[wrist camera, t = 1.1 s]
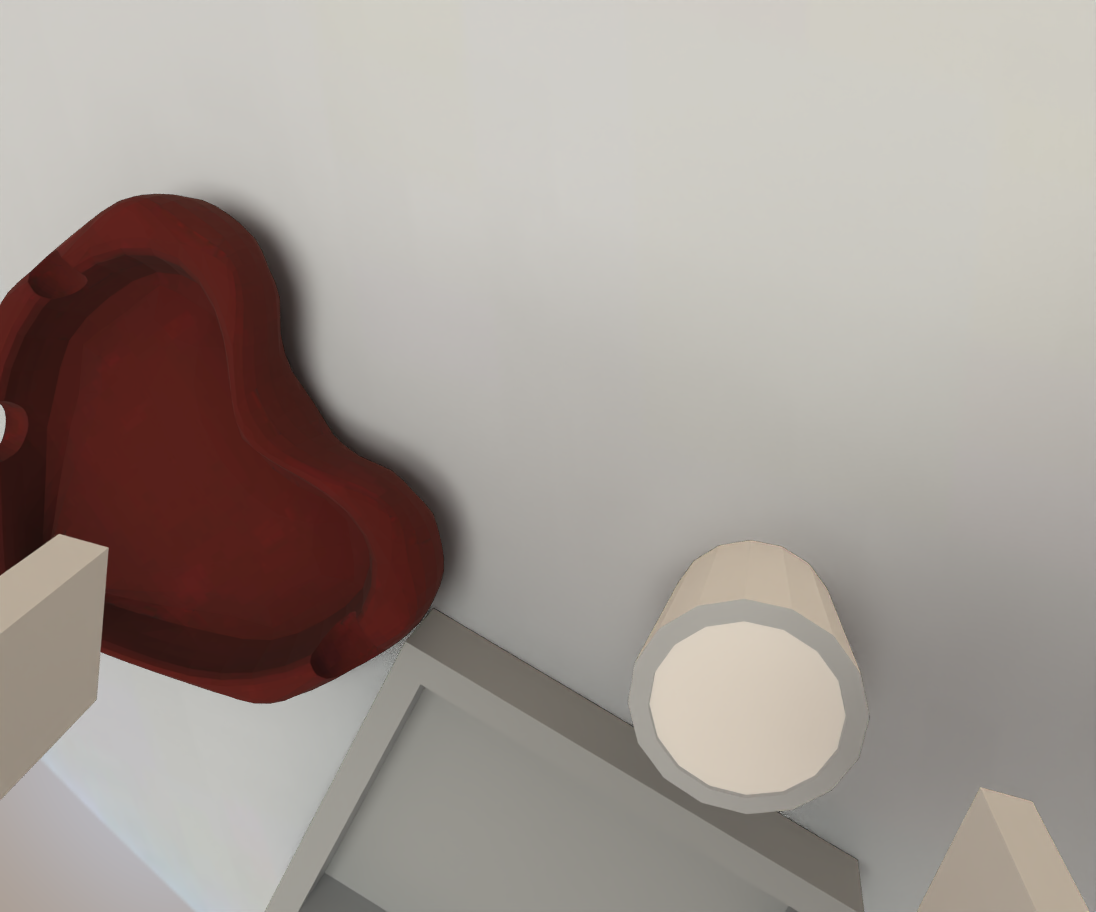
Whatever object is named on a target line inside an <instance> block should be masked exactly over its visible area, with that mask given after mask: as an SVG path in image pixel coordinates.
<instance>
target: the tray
mask: <svg viewBox="0 0 1096 912" xmlns="http://www.w3.org/2000/svg"><path fill="white" fill-rule="evenodd" d="M265 912H864V905H863V898H862V890H861V882H860V874H859V866H858V860H857V859H855V858H853V857H852V856H850V855H848V854H846V853H845V852H843V851H841V850H840V849H838V848H836V847H835V846H833V845H831V844H830V843H828V842H826V841H825V840H823V839H821V838H820V837H818V836H816V835H814V834H813V833H811V832H809V831H808V830H806V829H804V828H803V827H801V826H799V825H798V824H796V823H794V822H793V821H791V820H789V819H788V818H786V817H784V816H782V815H781V814H779V813H777V812H776V811H775V812H764V813H753V814H744V813H740V812H736V811H732V810H728V809H724V808H720V807H716V806H712V805H709V804H705V803H701V802H700V801H698V800H697V799H695V798H694V797H692V796H691V795H689V794H688V793H686V792H685V791H683V790H681V789H680V788H678V787H677V786H675V785H674V784H672V783H671V782H669V781H668V780H666V779H665V778H664V777H663V776H662V775H661V773H660V772H659V771H658V769H657V768H656V767H655V765H654V764H653V763H652V761H651V760H650V759H649V757H648V756H647V754H646V753H645V752H644V750H643V749H642V748H641V746H640V745H639V744H638V741H637V737H636V733H635V729H634V727H633V726H631V725H629V724H628V723H626V722H624V721H622V720H621V719H619V718H617V717H616V716H614V715H612V714H611V713H609V712H607V711H606V710H604V709H602V708H601V707H599V706H597V705H596V704H594V703H592V702H590V701H589V700H587V699H585V698H584V697H582V696H580V695H579V694H577V693H575V692H574V691H572V690H570V689H569V688H567V687H565V686H564V685H562V684H560V683H558V682H557V681H555V680H553V679H552V678H550V677H548V676H547V675H545V674H543V673H542V672H540V671H538V670H537V669H535V668H533V667H532V666H530V665H528V664H526V663H525V662H523V661H521V660H520V659H518V658H516V657H515V656H513V655H511V654H510V653H508V652H506V651H505V650H503V649H501V648H500V647H498V646H496V645H494V644H493V643H491V642H489V641H488V640H486V639H484V638H483V637H481V636H479V635H478V634H476V633H474V632H473V631H471V630H469V629H468V628H466V627H464V626H462V625H461V624H459V623H457V622H456V621H454V620H452V619H451V618H449V617H447V616H446V615H444V614H442V613H441V612H439V611H437V610H435V609H434V608H433V610H432V611H431V612H430V613H429V614H428V616H427V617H426V618H425V619H424V620H423V621H422V623H421V624H420V625H419V626H418V627H417V628H416V630H415V631H414V632H413V633H412V634H411V635H410V637H409V638H408V639H407V640H406V641H405V643H404V645H403V647H402V649H401V651H400V653H399V655H398V657H397V659H396V660H395V662H394V664H393V666H392V668H391V670H390V672H389V674H388V676H387V678H386V680H385V682H384V683H383V685H382V687H381V689H380V691H379V693H378V695H377V697H376V699H375V701H374V703H373V705H372V706H371V708H370V710H369V712H368V714H367V716H366V718H365V720H364V722H363V724H362V726H361V728H360V729H359V731H358V733H357V735H356V737H355V739H354V741H353V743H352V745H351V747H350V749H349V751H348V753H347V754H346V756H345V758H344V760H343V762H342V764H341V766H340V768H339V770H338V772H337V774H336V776H335V777H334V779H333V781H332V783H331V785H330V787H329V789H328V791H327V793H326V795H325V797H324V799H323V800H322V802H321V804H320V806H319V808H318V810H317V812H316V814H315V816H314V818H313V820H312V822H311V823H310V825H309V827H308V829H307V831H306V833H305V835H304V837H303V839H302V841H301V843H300V845H299V847H298V848H297V850H296V852H295V854H294V856H293V858H292V860H291V862H290V864H289V866H288V868H287V870H286V871H285V873H284V875H283V877H282V879H281V881H280V883H279V885H278V887H277V889H276V891H275V893H274V894H273V896H272V898H271V900H270V902H269V904H268V906H267V908H266V910H265Z"/></svg>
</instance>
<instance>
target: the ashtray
mask: <svg viewBox="0 0 1096 912" xmlns="http://www.w3.org/2000/svg"><path fill="white" fill-rule="evenodd" d="M0 404H1V405H2V406H3V408H4V410H5V415H6V427H5V432H4V436H3V439H2V441H1V443H0V576H1V575H2V574H3V573H5V572H6V571H8V570H9V569H10V568H12V567H13V566H15V565H16V564H17V563H19V562H20V561H22V560H23V559H24V558H26V557H27V556H29V555H30V554H31V553H33V552H34V551H36V550H37V549H39V548H40V547H41V546H43V545H44V544H46V543H47V542H48V541H50V540H51V539H53V538H54V537H55V536H57V535H58V534H61V535H65V536H68V537H72V538H76V539H79V540H83V541H87V542H90V543H94V544H97V545H101V546H105V547H108V548H109V549H108V562H107V575H106V587H105V600H104V613H103V625H102V638H101V651H100V652H102V653H104V654H107V655H109V656H112V657H115V658H117V659H120V660H123V661H125V662H128V663H131V664H134V665H137V666H139V667H142V668H145V669H148V670H151V671H153V672H156V673H159V674H162V675H165V676H168V677H171V678H174V679H177V680H180V681H183V682H186V683H189V684H192V685H195V686H198V687H201V688H204V689H207V690H210V691H213V692H216V693H219V694H223V695H226V696H229V697H232V698H235V699H238V700H242V701H246V702H251V703H266V704H271V703H276V702H280V701H285V700H287V699H290V698H292V697H294V696H297V695H300V694H302V693H305V692H308V691H311V690H313V689H315V688H317V687H319V686H322V685H324V684H326V683H328V682H330V681H332V680H334V679H336V678H338V677H339V676H341V675H343V674H345V673H347V672H348V671H350V670H352V669H354V668H356V667H358V666H360V665H361V664H363V663H365V662H367V661H369V660H370V659H372V658H374V657H375V656H377V655H379V654H380V653H382V652H384V651H385V650H387V649H389V648H390V647H392V646H393V645H394V644H396V643H397V642H399V641H400V640H401V639H403V638H404V637H405V636H406V635H407V634H408V633H409V632H410V631H411V630H412V629H413V628H414V627H415V626H416V625H418V624H419V623H420V621H421V620H422V618H423V617H424V615H425V614H426V612H427V611H428V609H429V608H430V606H431V604H432V602H433V600H434V598H435V595H436V593H437V591H438V589H439V586H440V584H441V580H442V576H443V571H444V556H443V549H442V543H441V539H440V535H439V531H438V527H437V524H436V521H435V518H434V514H433V513H432V512H431V511H430V509H429V508H428V507H427V505H426V504H425V503H424V502H423V501H422V500H421V499H420V498H419V497H418V496H417V495H416V494H415V493H414V492H413V491H412V490H411V488H410V487H409V486H408V485H407V484H406V483H405V482H404V481H403V480H402V479H401V478H400V477H399V476H398V475H396V474H395V473H394V472H393V471H392V470H390V469H388V468H385V467H383V466H381V465H379V464H376V463H374V462H372V461H369V460H367V459H365V458H363V457H360V456H359V455H357V454H356V453H355V452H353V451H352V450H350V449H349V448H348V447H346V446H345V445H344V444H343V443H342V442H341V441H339V440H338V439H337V438H336V437H335V436H334V435H333V433H332V432H331V430H330V428H329V427H328V425H327V424H326V422H325V420H324V419H323V417H322V415H321V414H320V412H319V411H318V409H317V407H316V406H315V404H314V403H313V401H312V400H311V398H310V397H309V395H308V394H307V392H306V391H305V389H304V388H303V387H302V385H301V384H300V382H299V381H298V379H297V378H296V376H295V375H294V374H293V372H292V370H291V367H290V365H289V362H288V360H287V358H286V355H285V352H284V347H283V343H282V338H281V329H280V297H279V294H278V290H277V287H276V284H275V281H274V279H273V276H272V274H271V272H270V270H269V267H268V265H267V262H266V260H265V257H264V255H263V252H262V250H261V249H260V247H259V245H258V243H257V241H256V239H255V238H254V237H253V236H252V235H251V234H250V233H249V232H248V231H247V230H246V229H245V228H244V227H243V226H242V225H241V224H240V223H239V222H237V221H236V220H235V219H234V218H232V217H231V216H230V215H228V214H227V213H226V212H224V211H222V210H221V209H219V208H218V207H216V206H214V205H212V204H210V203H208V202H205V201H203V200H199V199H194V198H189V197H183V196H178V195H172V194H148V195H140V196H134V197H131V198H127V199H124V200H121V201H118V202H117V203H115V204H113V205H112V206H110V207H108V208H107V209H105V210H104V211H102V212H101V213H99V214H98V215H97V216H95V217H94V218H93V219H92V220H90V221H89V222H88V223H86V224H85V225H84V226H83V227H82V228H80V229H79V230H78V231H77V232H75V233H74V234H73V235H72V236H70V237H69V238H68V239H67V240H66V241H64V242H63V243H62V244H61V245H60V246H59V247H57V248H56V249H55V250H54V251H53V252H51V253H50V254H49V255H48V256H47V257H46V258H45V259H44V260H43V261H41V262H40V263H39V264H38V265H37V266H36V267H35V268H34V269H33V270H32V271H31V272H30V273H28V274H27V275H26V276H25V277H24V278H22V279H21V280H20V281H19V282H18V283H17V284H16V285H15V286H14V287H13V288H12V289H11V290H10V291H9V292H8V293H7V295H6V296H5V298H4V299H3V301H2V302H1V304H0Z"/></svg>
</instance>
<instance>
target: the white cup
mask: <svg viewBox="0 0 1096 912" xmlns="http://www.w3.org/2000/svg"><path fill="white" fill-rule="evenodd" d="M628 706H629V710H630V714H631V718H632V722H633V725H634V729H635V733H636V737H637V741H638V744H639V745H640V746H641V748H642V749H643V750H644V752H645V753H646V754H647V756H648V757H649V759H650V760H651V761H652V763H653V764H654V765H655V767H656V768H657V769H658V771H659V772H660V773H661V775H662V776H663V777H664V778H665V779H666V780H668V781H669V782H671V783H672V784H674V785H675V786H677V787H678V788H680V789H681V790H683V791H685V792H686V793H688V794H689V795H691V796H692V797H694V798H695V799H697V800H698V801H700V802H701V803H705V804H709V805H712V806H716V807H720V808H724V809H728V810H732V811H736V812H740V813H744V814H753V813H764V812H775V811H787V810H793V809H795V808H797V807H799V806H801V805H803V804H805V803H807V802H809V801H811V800H813V799H815V798H817V797H819V796H821V795H823V794H826V793H828V792H830V791H831V790H832V789H833V788H834V787H835V786H836V785H837V783H838V782H839V781H840V780H841V779H842V778H843V776H844V775H845V774H846V773H847V772H848V770H849V769H850V768H851V767H852V766H853V765H854V763H855V762H856V761H857V760H858V759H859V756H860V752H861V748H862V745H863V741H864V737H865V733H866V729H867V725H868V721H869V718H870V716H869V711H868V706H867V701H866V696H865V692H864V687H863V682H862V677H861V673H860V670H859V668H858V665H857V663H856V660H855V658H854V655H853V653H852V650H851V648H850V645H849V643H848V640H847V638H846V635H845V633H844V630H843V628H842V625H841V623H840V620H839V617H838V615H837V612H836V610H835V607H834V605H833V602H832V600H831V597H830V595H829V592H828V590H827V588H826V587H825V585H824V584H823V582H822V581H821V580H820V578H819V577H818V575H817V574H816V573H815V571H814V570H813V568H812V567H811V566H810V564H809V563H807V562H806V561H804V560H802V559H801V558H799V557H798V556H796V555H795V554H793V553H791V552H790V551H788V550H787V549H785V548H784V547H782V546H777V545H772V544H767V543H762V542H757V541H752V540H748V541H742V542H736V543H730V544H724V545H719V546H717V547H716V548H714V549H713V550H711V551H709V552H708V553H706V554H704V555H703V556H701V557H699V558H698V559H696V560H694V561H693V563H692V564H691V566H690V567H689V568H688V570H687V571H686V573H685V574H684V575H683V577H682V578H681V580H680V581H679V583H678V584H677V586H676V588H675V589H674V591H673V593H672V595H671V597H670V599H669V600H668V602H667V604H666V606H665V608H664V610H663V612H662V613H661V615H660V617H659V619H658V621H657V623H656V624H655V626H654V628H653V630H652V632H651V634H650V636H649V637H648V639H647V641H646V643H645V645H644V647H643V648H642V650H641V652H640V654H639V656H638V658H637V660H636V661H635V665H634V670H633V676H632V681H631V687H630V693H629V698H628Z"/></svg>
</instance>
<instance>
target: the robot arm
mask: <svg viewBox="0 0 1096 912" xmlns="http://www.w3.org/2000/svg"><path fill="white" fill-rule="evenodd" d="M108 549H109V548H108V547H105V546H101V545H97V544H94V543H90V542H87V541H83V540H79V539H76V538H72V537H68V536H65V535H61V534H58V535H57V536H55V537H54V538H53V539H51V540H50V541H48V542H47V543H46V544H44V545H43V546H41V547H40V548H39V549H37V550H36V551H34V552H33V553H31V554H30V555H29V556H27V557H26V558H24V559H23V560H22V561H20V562H19V563H17V564H16V565H15V566H13V567H12V568H10V569H9V570H8V571H6V572H5V573H3V574H2V575H1V576H0V800H1V799H2V798H3V797H4V796H5V795H6V794H7V793H8V792H9V791H10V790H11V789H12V788H13V787H14V786H15V785H16V783H17V782H18V781H19V780H20V779H21V778H22V777H23V776H24V775H25V774H26V773H27V772H28V771H29V770H30V769H31V768H32V767H33V766H34V765H35V764H36V762H38V760H39V759H40V758H41V757H42V756H43V755H44V754H45V753H46V752H47V751H48V750H49V749H50V748H51V747H52V746H53V745H54V744H55V743H56V742H57V741H58V740H59V738H60V737H61V736H62V735H63V734H64V733H65V732H66V731H67V730H68V729H69V728H70V727H71V726H72V725H73V724H74V723H75V722H76V721H77V720H78V719H79V718H80V717H81V715H82V714H83V713H84V712H85V711H86V710H87V709H88V708H89V707H90V706H91V705H92V704H93V703H94V702H95V701H96V700H97V689H98V676H99V664H100V651H101V638H102V625H103V613H104V600H105V587H106V575H107V562H108ZM917 912H1089V910H1088V908H1087V906H1086V904H1085V902H1084V900H1083V898H1082V896H1081V894H1080V892H1079V890H1078V889H1077V887H1076V885H1075V883H1074V881H1073V879H1072V877H1071V875H1070V873H1069V871H1068V869H1067V867H1066V865H1065V863H1064V862H1063V860H1062V858H1061V856H1060V854H1059V852H1058V850H1057V848H1056V846H1055V844H1054V842H1053V840H1052V838H1051V837H1050V835H1049V833H1048V831H1047V829H1046V827H1045V825H1044V823H1043V821H1042V819H1041V817H1040V815H1039V813H1038V811H1037V810H1036V808H1035V806H1034V804H1033V802H1032V801H1029V800H1025V799H1022V798H1018V797H1014V796H1011V795H1007V794H1003V793H1000V792H996V791H992V790H989V789H985V788H982V787H980V788H979V790H978V792H977V794H976V796H975V798H974V800H973V802H972V804H971V806H970V808H969V810H968V812H967V814H966V816H965V818H964V820H963V822H962V824H961V826H960V828H959V830H958V832H957V834H956V836H955V838H954V840H953V842H952V843H951V845H950V847H949V849H948V851H947V853H946V855H945V857H944V859H943V861H942V863H941V865H940V867H939V869H938V871H937V873H936V875H935V877H934V879H933V881H932V883H931V885H930V887H929V889H928V891H927V893H926V895H925V897H924V899H923V900H922V902H921V904H920V906H919V908H918V910H917Z"/></svg>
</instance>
